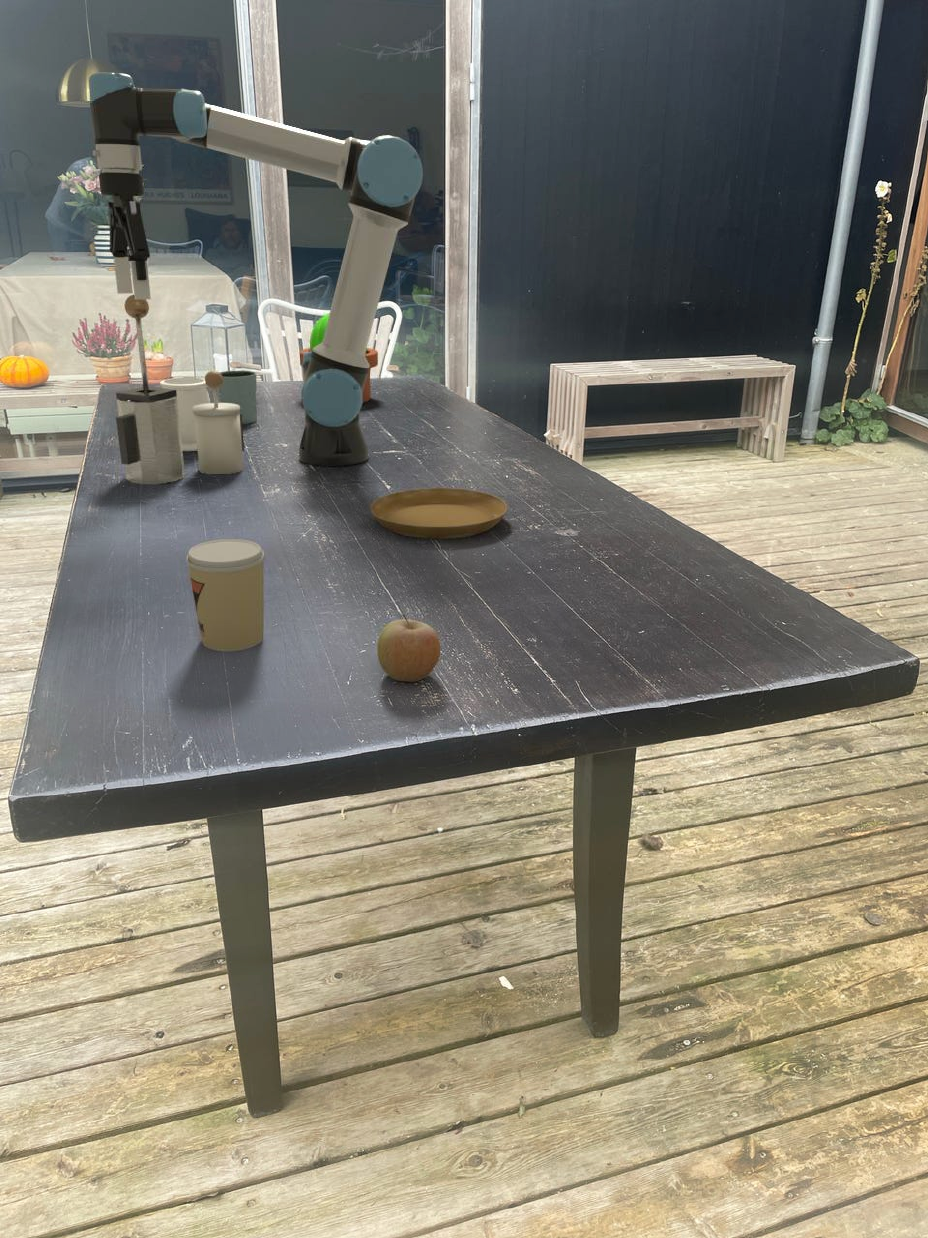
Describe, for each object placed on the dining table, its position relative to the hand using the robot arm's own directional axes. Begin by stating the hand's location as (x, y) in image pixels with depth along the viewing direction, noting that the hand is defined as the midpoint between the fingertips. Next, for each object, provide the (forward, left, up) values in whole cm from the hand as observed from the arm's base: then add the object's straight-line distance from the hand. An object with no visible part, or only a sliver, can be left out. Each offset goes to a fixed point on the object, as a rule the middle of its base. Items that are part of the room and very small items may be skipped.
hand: (133, 296), depth 180 cm
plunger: (0, 0, -21) cm, 21 cm away
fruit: (-86, +59, -35) cm, 110 cm away
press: (0, +1, -35) cm, 35 cm away
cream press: (-8, -13, -35) cm, 38 cm away
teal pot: (+18, -54, -35) cm, 67 cm away
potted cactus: (+10, -92, -35) cm, 99 cm away
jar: (+10, -24, -35) cm, 44 cm away
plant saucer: (-64, +2, -35) cm, 73 cm away
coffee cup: (-61, +59, -35) cm, 92 cm away
